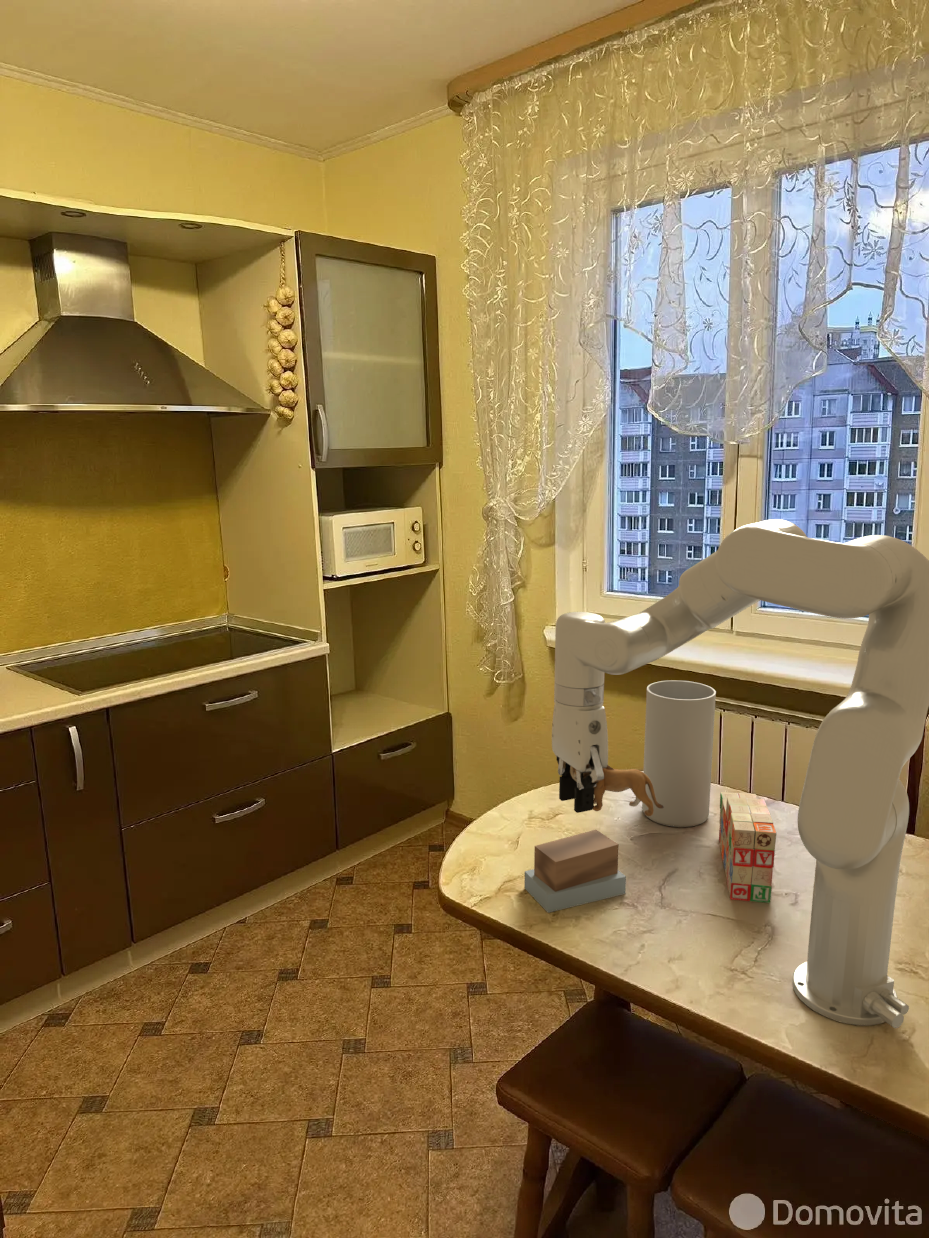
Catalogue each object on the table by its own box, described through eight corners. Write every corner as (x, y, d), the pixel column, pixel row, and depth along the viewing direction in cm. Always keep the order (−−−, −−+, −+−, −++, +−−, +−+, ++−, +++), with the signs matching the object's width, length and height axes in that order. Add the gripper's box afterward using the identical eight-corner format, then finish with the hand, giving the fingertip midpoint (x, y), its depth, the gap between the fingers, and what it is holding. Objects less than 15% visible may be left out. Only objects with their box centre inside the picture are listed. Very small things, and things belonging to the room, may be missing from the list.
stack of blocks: (717, 838, 157) (721, 775, 155) (753, 841, 156) (758, 777, 154) (729, 900, 137) (734, 828, 134) (771, 904, 136) (776, 831, 133)
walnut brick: (617, 872, 139) (618, 844, 138) (555, 891, 134) (555, 861, 133) (595, 857, 144) (595, 829, 143) (534, 874, 139) (534, 845, 138)
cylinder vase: (631, 817, 166) (635, 692, 160) (657, 795, 176) (662, 676, 170) (694, 834, 159) (701, 704, 153) (718, 810, 169) (725, 687, 163)
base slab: (625, 893, 139) (626, 876, 138) (548, 912, 133) (548, 894, 133) (598, 870, 146) (599, 854, 145) (524, 888, 141) (524, 871, 140)
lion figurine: (569, 813, 135) (570, 759, 133) (569, 799, 140) (570, 746, 138) (665, 817, 134) (668, 762, 132) (661, 803, 139) (664, 750, 137)
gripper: (630, 705, 127) (625, 822, 130) (572, 676, 142) (570, 781, 146) (585, 712, 124) (582, 831, 128) (531, 681, 139) (530, 788, 143)
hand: (576, 803), depth 137 cm, fingers closed on lion figurine, 4 cm apart
